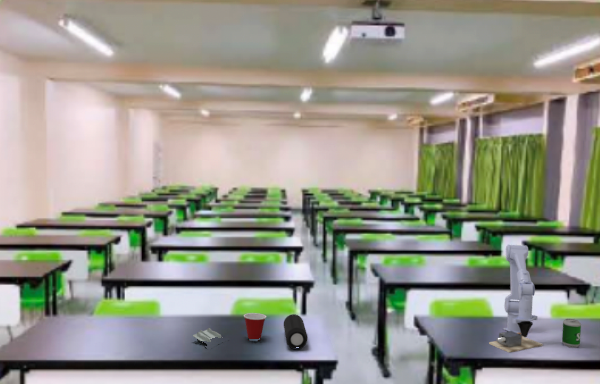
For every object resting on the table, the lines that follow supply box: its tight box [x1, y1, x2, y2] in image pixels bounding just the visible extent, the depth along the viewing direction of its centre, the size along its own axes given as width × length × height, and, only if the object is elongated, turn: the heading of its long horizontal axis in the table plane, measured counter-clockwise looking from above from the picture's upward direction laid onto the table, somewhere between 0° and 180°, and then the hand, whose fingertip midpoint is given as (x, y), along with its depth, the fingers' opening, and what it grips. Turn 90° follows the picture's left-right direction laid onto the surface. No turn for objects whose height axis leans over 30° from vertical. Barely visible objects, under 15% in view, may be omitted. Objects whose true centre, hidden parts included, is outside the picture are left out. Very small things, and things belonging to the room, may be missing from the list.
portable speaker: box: [283, 313, 308, 349], centre depth 244 cm, size 26×10×10 cm, turn 5°
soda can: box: [561, 318, 582, 349], centre depth 244 cm, size 8×8×12 cm
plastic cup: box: [243, 312, 267, 339], centre depth 245 cm, size 11×11×12 cm
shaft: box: [496, 333, 521, 343], centre depth 242 cm, size 14×4×4 cm, turn 116°
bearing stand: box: [488, 331, 544, 353], centre depth 244 cm, size 22×12×6 cm, turn 116°
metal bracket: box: [192, 327, 222, 342], centre depth 242 cm, size 14×6×15 cm
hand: (524, 336), depth 247 cm, fingers closed
